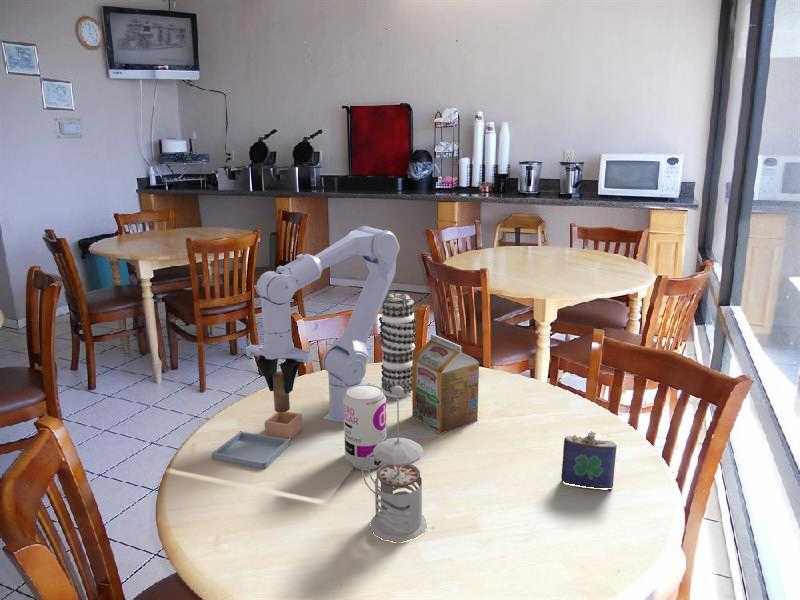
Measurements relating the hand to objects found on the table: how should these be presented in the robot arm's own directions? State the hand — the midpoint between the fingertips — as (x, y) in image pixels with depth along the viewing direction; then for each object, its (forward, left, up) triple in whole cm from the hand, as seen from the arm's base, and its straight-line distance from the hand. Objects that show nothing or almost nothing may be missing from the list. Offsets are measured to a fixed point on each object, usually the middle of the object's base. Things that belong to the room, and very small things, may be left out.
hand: (281, 390), depth 129 cm
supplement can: (-21, +4, -11) cm, 24 cm away
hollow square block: (0, 0, -10) cm, 10 cm away
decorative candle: (-16, -30, -11) cm, 35 cm away
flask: (-63, -1, -11) cm, 64 cm away
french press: (-33, +21, -11) cm, 41 cm away
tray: (+2, +9, -10) cm, 14 cm away
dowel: (0, 0, -4) cm, 4 cm away
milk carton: (-31, -19, -11) cm, 38 cm away
